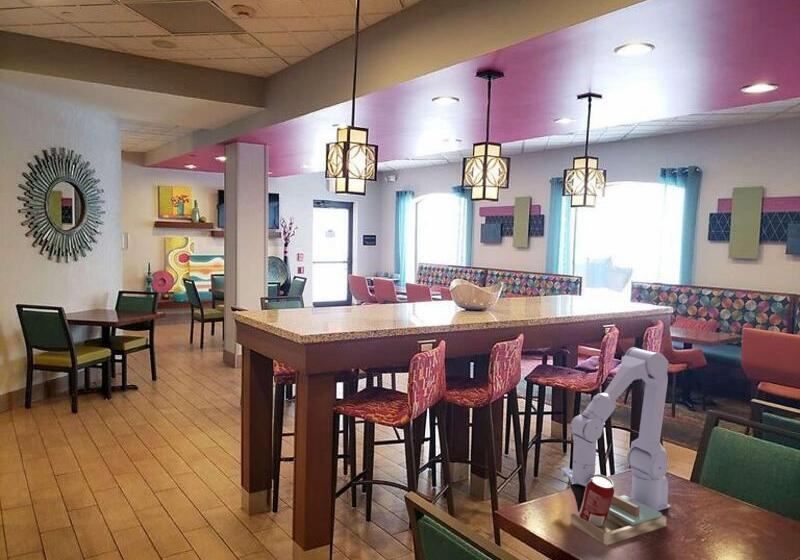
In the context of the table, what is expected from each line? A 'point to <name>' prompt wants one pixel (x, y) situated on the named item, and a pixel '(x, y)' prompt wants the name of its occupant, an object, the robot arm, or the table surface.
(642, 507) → the lid
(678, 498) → the table surface
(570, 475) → the robot arm
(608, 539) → the wooden frame
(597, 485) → the soda can
